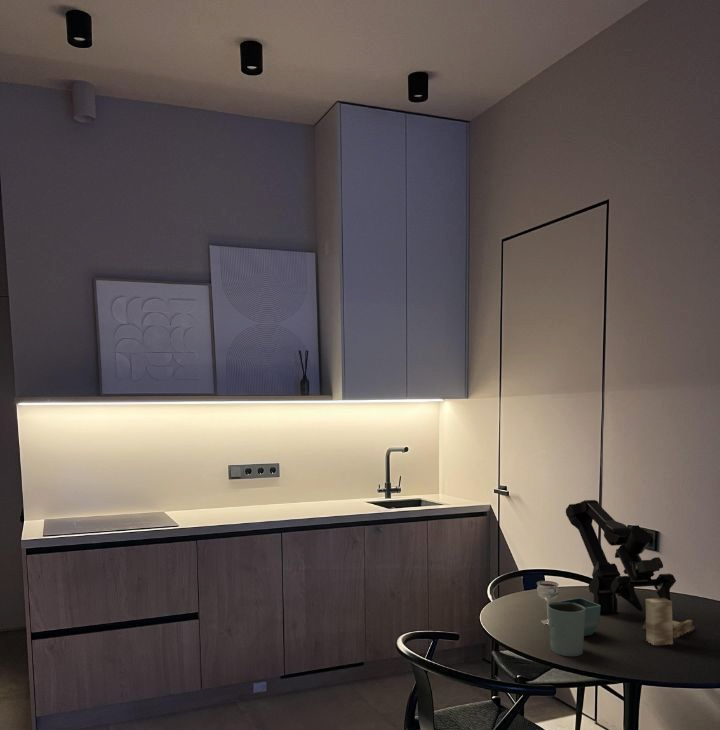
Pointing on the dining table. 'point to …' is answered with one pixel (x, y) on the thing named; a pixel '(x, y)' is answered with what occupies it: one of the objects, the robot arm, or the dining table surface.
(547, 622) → the wineglass
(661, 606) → the wooden block
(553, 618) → the green cup
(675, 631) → the wooden tray
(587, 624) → the flower pot
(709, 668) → the dining table surface
